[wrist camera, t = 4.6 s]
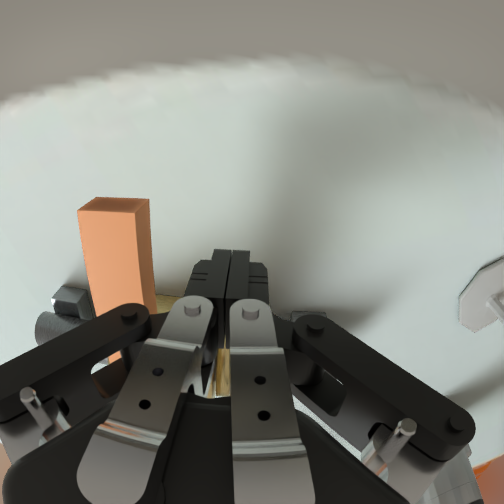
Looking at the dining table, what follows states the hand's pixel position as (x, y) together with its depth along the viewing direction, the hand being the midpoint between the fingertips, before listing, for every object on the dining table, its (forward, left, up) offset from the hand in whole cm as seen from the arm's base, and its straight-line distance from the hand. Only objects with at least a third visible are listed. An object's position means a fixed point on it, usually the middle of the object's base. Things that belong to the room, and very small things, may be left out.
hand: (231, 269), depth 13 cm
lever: (+5, +5, -2) cm, 7 cm away
